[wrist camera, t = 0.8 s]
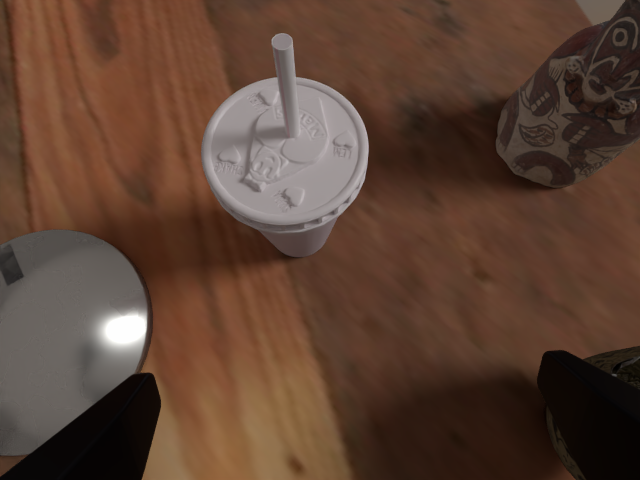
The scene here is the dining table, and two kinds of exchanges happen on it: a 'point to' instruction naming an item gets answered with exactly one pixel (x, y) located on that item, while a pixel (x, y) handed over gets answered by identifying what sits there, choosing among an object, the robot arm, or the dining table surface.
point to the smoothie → (286, 156)
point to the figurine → (577, 105)
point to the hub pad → (65, 331)
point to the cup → (624, 364)
